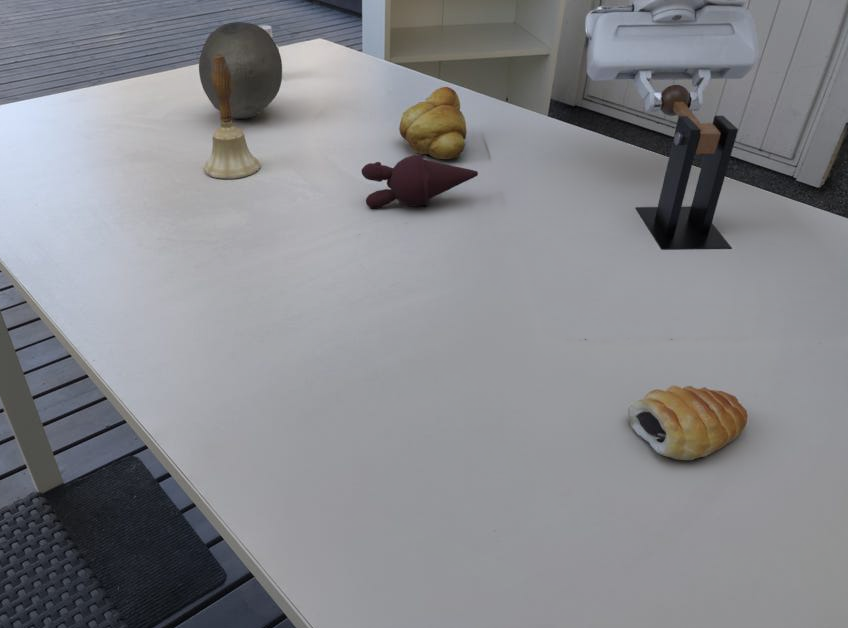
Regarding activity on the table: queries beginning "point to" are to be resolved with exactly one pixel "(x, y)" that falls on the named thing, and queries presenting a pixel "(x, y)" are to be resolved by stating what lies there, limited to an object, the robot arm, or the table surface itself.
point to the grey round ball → (243, 67)
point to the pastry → (687, 421)
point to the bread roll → (435, 125)
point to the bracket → (695, 222)
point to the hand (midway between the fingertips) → (674, 109)
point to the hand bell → (228, 133)
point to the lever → (677, 104)
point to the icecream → (413, 180)
